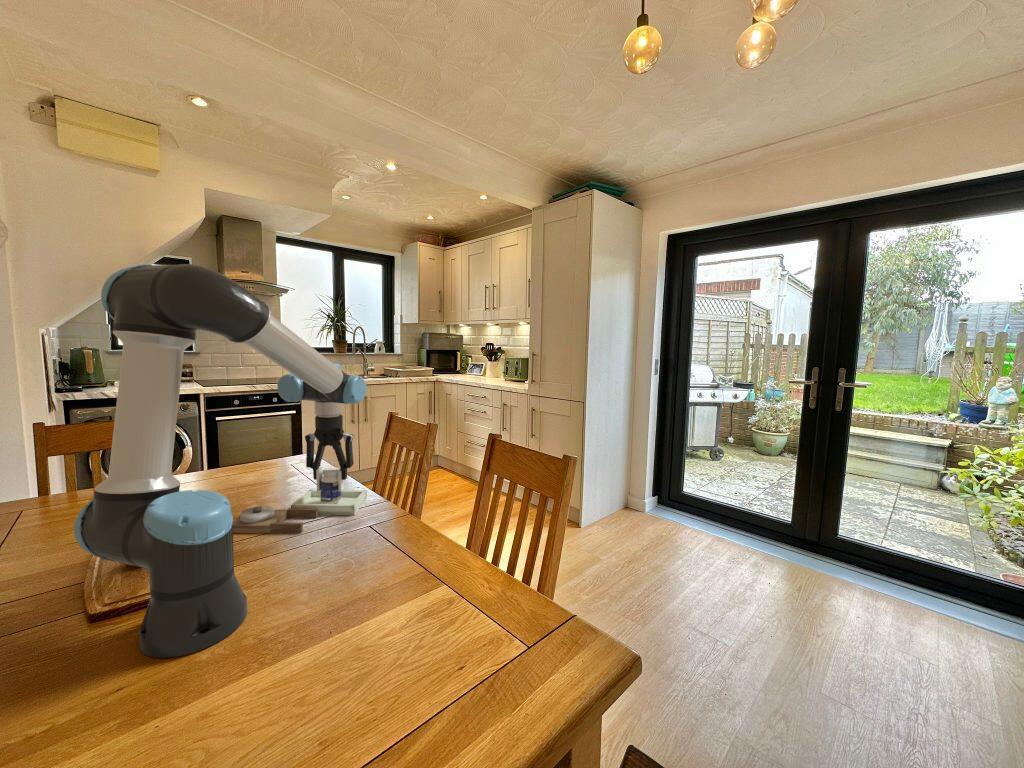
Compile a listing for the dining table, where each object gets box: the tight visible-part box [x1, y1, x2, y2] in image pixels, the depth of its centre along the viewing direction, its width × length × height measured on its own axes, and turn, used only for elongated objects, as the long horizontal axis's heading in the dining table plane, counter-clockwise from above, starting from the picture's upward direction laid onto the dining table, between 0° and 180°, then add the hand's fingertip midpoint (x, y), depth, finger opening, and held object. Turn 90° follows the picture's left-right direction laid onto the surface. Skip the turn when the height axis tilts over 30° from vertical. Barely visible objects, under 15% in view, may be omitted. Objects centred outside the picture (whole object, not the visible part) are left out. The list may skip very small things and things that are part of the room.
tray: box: [290, 489, 368, 517], centre depth 124 cm, size 12×18×3 cm, turn 92°
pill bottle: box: [321, 466, 341, 504], centre depth 124 cm, size 6×6×10 cm
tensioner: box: [233, 505, 319, 534], centre depth 112 cm, size 10×19×5 cm, turn 92°
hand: (330, 489), depth 124 cm, fingers closed on pill bottle, 6 cm apart
